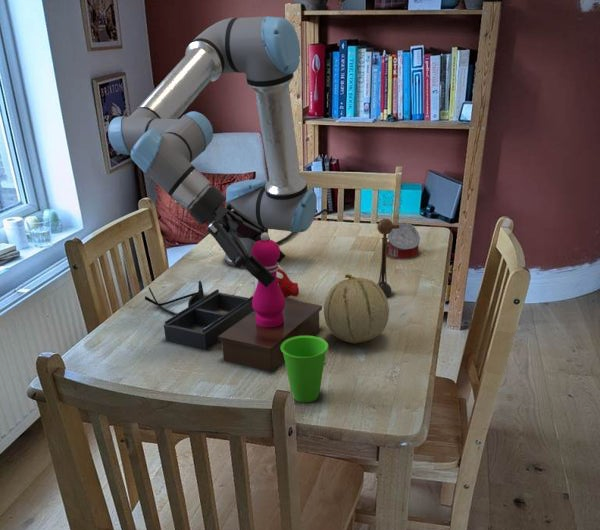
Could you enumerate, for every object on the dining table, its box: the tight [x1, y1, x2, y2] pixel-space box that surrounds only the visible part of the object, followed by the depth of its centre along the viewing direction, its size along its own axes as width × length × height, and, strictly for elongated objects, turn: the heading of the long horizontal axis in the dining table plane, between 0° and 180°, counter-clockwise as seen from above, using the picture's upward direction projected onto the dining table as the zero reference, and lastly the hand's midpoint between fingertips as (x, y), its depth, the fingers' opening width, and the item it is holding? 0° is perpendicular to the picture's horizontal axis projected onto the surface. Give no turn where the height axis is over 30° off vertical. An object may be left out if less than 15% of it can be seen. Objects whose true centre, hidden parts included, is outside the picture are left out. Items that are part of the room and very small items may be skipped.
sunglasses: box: [144, 280, 205, 316], centre depth 163 cm, size 17×14×5 cm
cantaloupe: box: [323, 273, 390, 345], centre depth 142 cm, size 15×15×15 cm
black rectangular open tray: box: [163, 289, 254, 351], centre depth 152 cm, size 22×12×5 cm, turn 152°
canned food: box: [386, 222, 421, 260], centre depth 195 cm, size 11×10×10 cm
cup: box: [280, 335, 329, 403], centre depth 122 cm, size 9×9×11 cm
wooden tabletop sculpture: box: [376, 218, 399, 298], centre depth 163 cm, size 6×5×20 cm
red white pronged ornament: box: [251, 264, 300, 299], centre depth 165 cm, size 9×11×15 cm
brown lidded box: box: [218, 298, 323, 373], centre depth 143 cm, size 24×13×6 cm, turn 152°
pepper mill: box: [251, 232, 286, 328], centre depth 136 cm, size 7×7×20 cm
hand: (276, 271), depth 135 cm, fingers open, 13 cm apart
